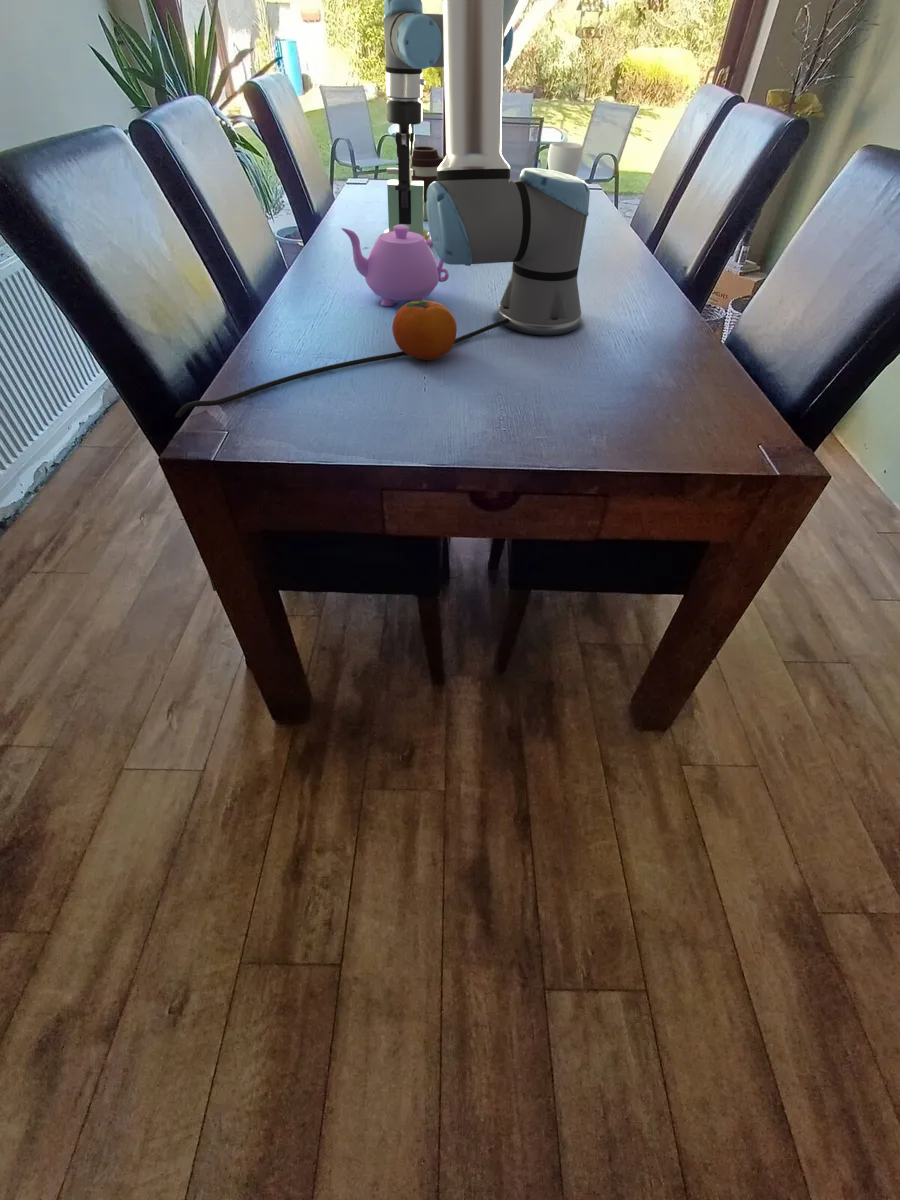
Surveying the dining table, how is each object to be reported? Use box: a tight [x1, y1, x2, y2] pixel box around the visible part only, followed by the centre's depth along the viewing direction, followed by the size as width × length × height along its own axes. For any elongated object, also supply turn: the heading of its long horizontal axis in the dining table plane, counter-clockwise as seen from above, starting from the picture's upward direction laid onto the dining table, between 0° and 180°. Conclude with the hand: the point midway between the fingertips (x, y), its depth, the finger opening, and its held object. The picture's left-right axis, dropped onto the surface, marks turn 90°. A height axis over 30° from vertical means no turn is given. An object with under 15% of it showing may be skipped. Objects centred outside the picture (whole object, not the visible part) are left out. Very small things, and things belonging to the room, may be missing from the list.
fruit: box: [391, 299, 458, 361], centre depth 102 cm, size 11×10×8 cm
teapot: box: [340, 225, 450, 307], centre depth 119 cm, size 20×14×12 cm
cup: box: [547, 141, 584, 177], centre depth 167 cm, size 9×9×16 cm
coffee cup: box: [412, 145, 444, 221], centre depth 162 cm, size 10×10×15 cm
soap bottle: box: [383, 167, 429, 240], centre depth 144 cm, size 10×10×13 cm
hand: (406, 216), depth 146 cm, fingers open, 12 cm apart
